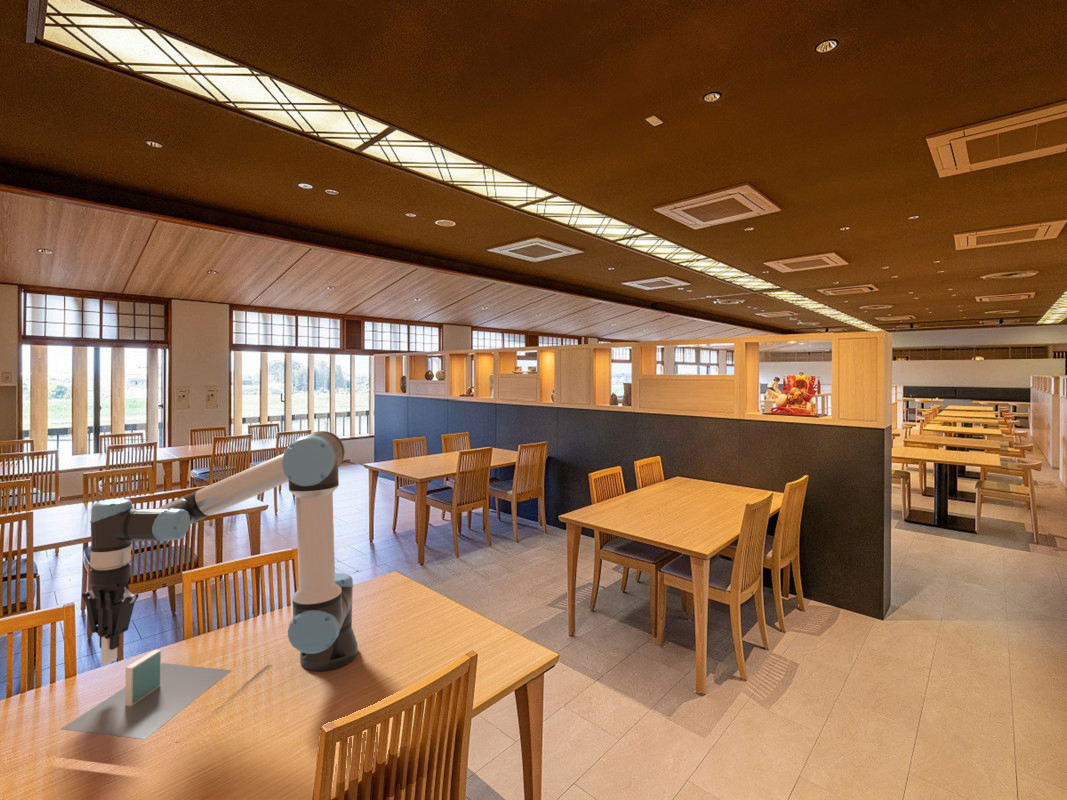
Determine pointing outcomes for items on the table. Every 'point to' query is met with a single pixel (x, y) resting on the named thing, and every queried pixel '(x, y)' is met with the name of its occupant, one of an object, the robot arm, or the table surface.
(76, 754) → the table surface
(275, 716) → the table surface
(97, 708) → the slate board
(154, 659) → the tile
